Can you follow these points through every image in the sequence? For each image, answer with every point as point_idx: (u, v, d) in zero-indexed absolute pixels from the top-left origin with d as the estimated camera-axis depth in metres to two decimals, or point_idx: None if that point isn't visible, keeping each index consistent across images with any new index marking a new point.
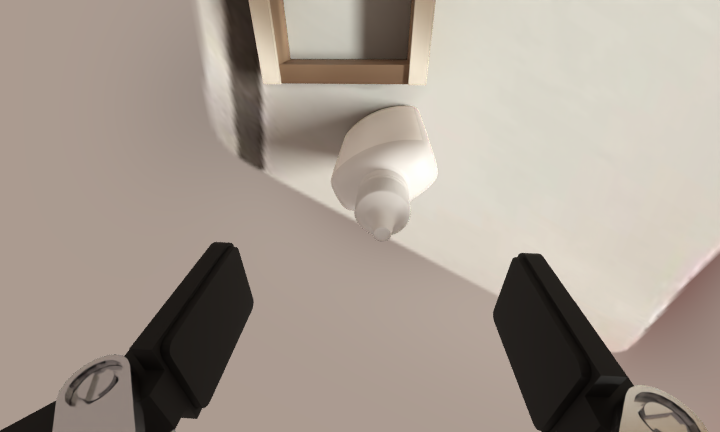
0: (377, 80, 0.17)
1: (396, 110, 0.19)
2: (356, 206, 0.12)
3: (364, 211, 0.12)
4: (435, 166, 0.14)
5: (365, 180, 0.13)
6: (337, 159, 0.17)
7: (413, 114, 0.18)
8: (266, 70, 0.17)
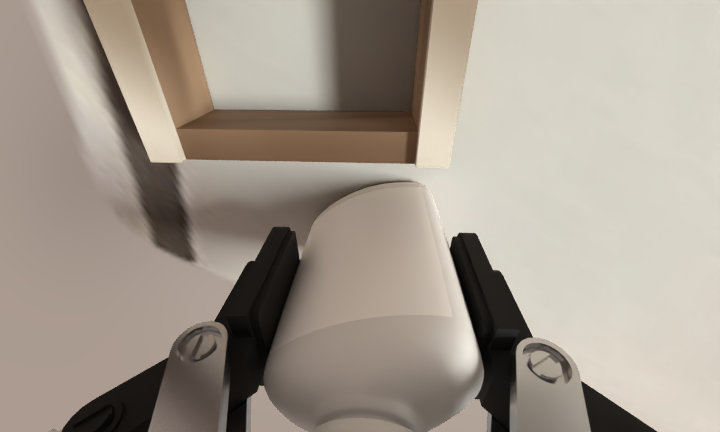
0: (358, 157, 0.09)
1: (393, 196, 0.11)
2: None
3: None
4: (481, 370, 0.07)
5: None
6: (286, 300, 0.09)
7: (423, 210, 0.10)
8: (152, 140, 0.09)
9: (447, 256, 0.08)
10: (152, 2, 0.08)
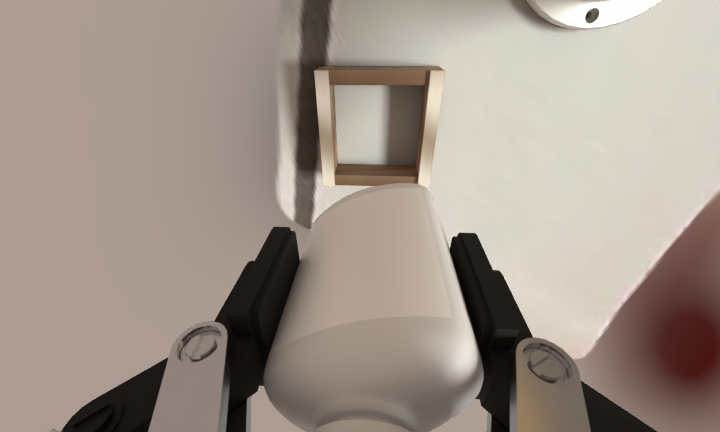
0: None
1: (393, 197, 0.11)
2: None
3: None
4: (480, 371, 0.07)
5: None
6: (286, 301, 0.09)
7: (423, 211, 0.10)
8: (326, 178, 0.26)
9: (447, 257, 0.08)
10: (333, 136, 0.25)
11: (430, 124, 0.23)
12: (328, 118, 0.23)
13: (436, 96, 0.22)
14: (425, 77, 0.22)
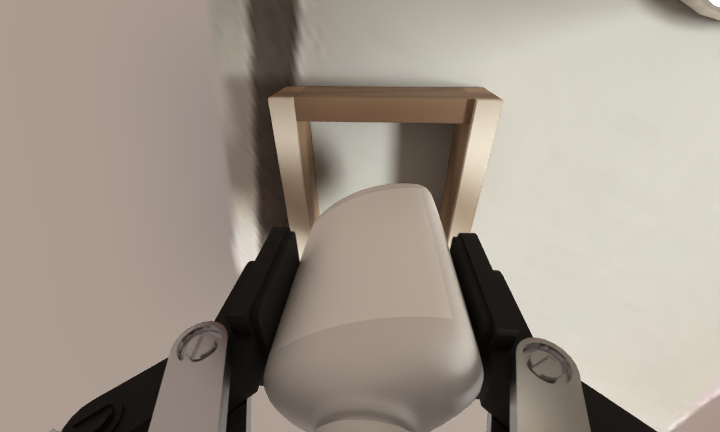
0: None
1: (393, 197, 0.11)
2: None
3: None
4: (480, 371, 0.07)
5: None
6: (286, 301, 0.09)
7: (423, 211, 0.10)
8: (300, 258, 0.17)
9: (447, 257, 0.08)
10: (310, 196, 0.16)
11: (469, 186, 0.14)
12: (297, 174, 0.14)
13: (483, 143, 0.13)
14: (465, 110, 0.12)
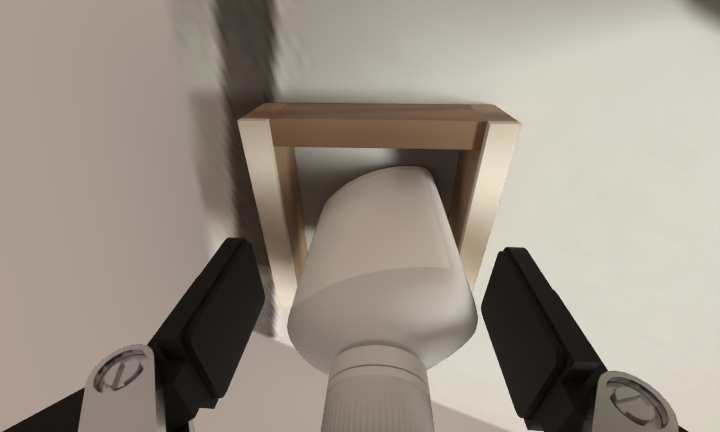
0: None
1: (397, 177, 0.12)
2: None
3: None
4: (474, 314, 0.08)
5: (341, 371, 0.07)
6: (303, 267, 0.11)
7: (425, 188, 0.11)
8: (283, 297, 0.15)
9: (446, 224, 0.10)
10: (293, 228, 0.14)
11: (479, 221, 0.12)
12: (277, 207, 0.12)
13: (496, 172, 0.10)
14: (475, 135, 0.10)
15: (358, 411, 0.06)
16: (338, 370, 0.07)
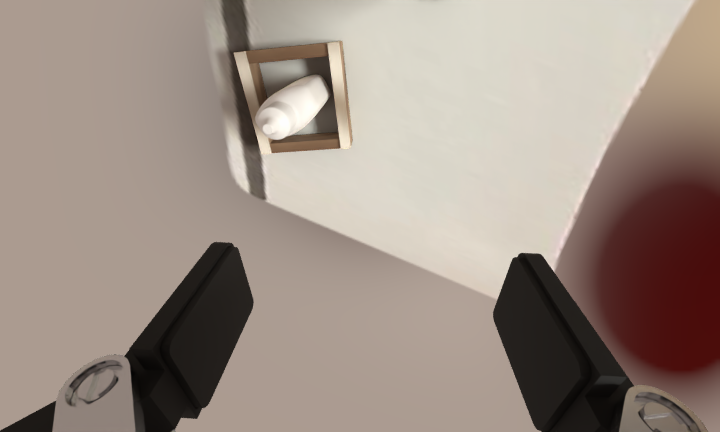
0: (324, 147, 0.31)
1: (305, 77, 0.28)
2: (258, 120, 0.21)
3: (262, 122, 0.21)
4: (313, 100, 0.23)
5: None
6: None
7: (313, 77, 0.27)
8: (262, 147, 0.31)
9: (313, 82, 0.25)
10: None
11: (337, 89, 0.27)
12: (253, 93, 0.28)
13: (336, 64, 0.26)
14: (325, 49, 0.26)
15: None
16: None
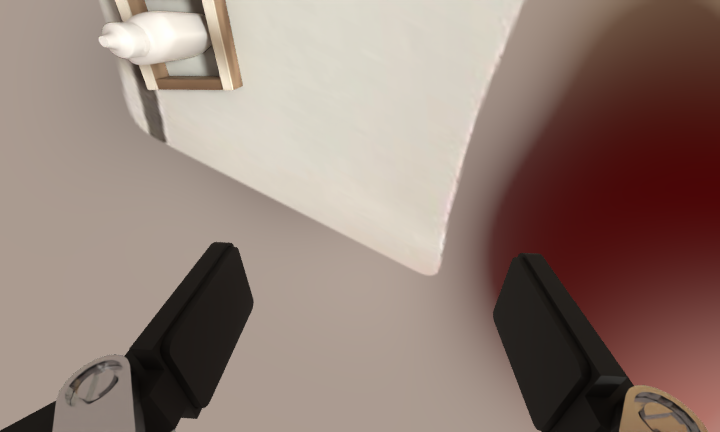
0: (208, 87, 0.32)
1: None
2: (102, 36, 0.23)
3: None
4: (170, 27, 0.25)
5: None
6: None
7: None
8: (148, 82, 0.32)
9: (180, 13, 0.26)
10: None
11: (212, 27, 0.28)
12: None
13: (208, 1, 0.27)
14: None
15: None
16: None
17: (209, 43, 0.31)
